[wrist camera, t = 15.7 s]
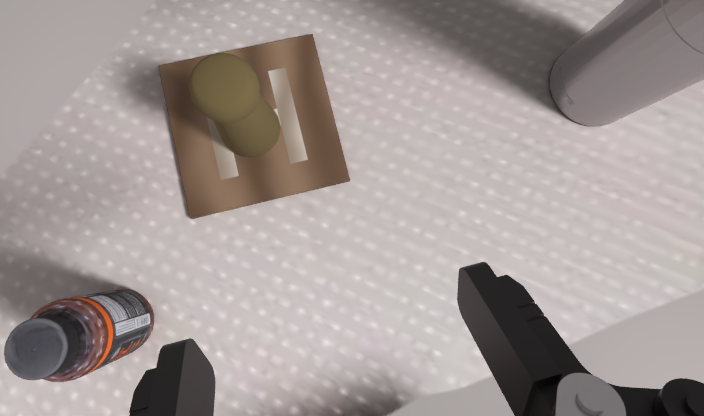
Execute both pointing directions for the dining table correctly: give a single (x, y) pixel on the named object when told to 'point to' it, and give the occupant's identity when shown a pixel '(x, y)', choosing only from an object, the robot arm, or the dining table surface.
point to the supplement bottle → (78, 335)
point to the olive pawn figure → (234, 104)
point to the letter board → (286, 155)
